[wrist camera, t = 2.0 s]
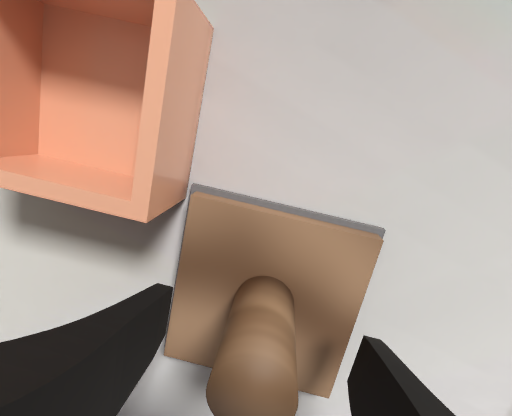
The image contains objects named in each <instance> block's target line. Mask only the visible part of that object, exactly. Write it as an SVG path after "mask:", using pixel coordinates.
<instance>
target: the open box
mask: <svg viewBox="0 0 512 416" xmlns="http://www.w3.org/2000/svg"><path fill="white" fill-rule="evenodd" d="M213 30H214V28H213V27H212V25H211V24H210V22H209V21H208V19H207V18H206V16H205V15H204V14H203V12H202V11H201V9H200V8H199V6H198V5H197V4H196V2H195V1H194V0H0V188H4V189H9V190H13V191H17V192H21V193H25V194H29V195H33V196H37V197H41V198H45V199H50V200H54V201H58V202H62V203H66V204H70V205H74V206H78V207H82V208H86V209H91V210H95V211H99V212H103V213H107V214H111V215H115V216H119V217H123V218H127V219H132V220H136V221H140V222H144V223H148V222H149V221H151V220H152V219H154V218H155V217H157V216H158V215H160V214H162V213H163V212H165V211H166V210H168V209H169V208H171V207H173V206H174V205H176V204H177V203H179V202H180V201H182V200H183V199H185V198H186V193H187V187H188V181H189V175H190V169H191V163H192V157H193V151H194V145H195V139H196V133H197V127H198V121H199V115H200V109H201V102H202V96H203V90H204V84H205V78H206V72H207V66H208V60H209V54H210V48H211V42H212V36H213Z"/></svg>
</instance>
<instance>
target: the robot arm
mask: <svg viewBox="0 0 512 416" xmlns="http://www.w3.org/2000/svg"><path fill="white" fill-rule="evenodd" d="M172 291H173V287H170V286H167V285H163V284H159V283H157V284H155V285H153V286H151V287H149V288H147V289H145V290H143V291H141V292H139V293H137V294H135V295H133V296H131V297H129V298H127V299H125V300H123V301H121V302H119V303H117V304H115V305H113V306H110V307H108V308H106V309H104V310H101V311H99V312H97V313H94V314H92V315H90V316H87V317H85V318H82V319H80V320H77V321H74V322H72V323H69V324H66V325H63V326H60V327H57V328H54V329H51V330H47V331H43V332H40V333H36V334H32V335H29V336H25V337H21V338H18V339H14V340H10V341H5V342H1V343H0V416H116V415H117V414H118V412H119V411H120V409H121V407H122V406H123V404H124V403H125V401H126V400H127V398H128V397H129V395H130V394H131V392H132V391H133V389H134V388H135V386H136V384H137V383H138V381H139V380H140V378H141V377H142V375H143V374H144V372H145V371H146V369H147V367H148V366H149V364H150V363H151V361H152V360H153V358H154V356H155V354H156V352H157V350H158V348H159V346H160V344H161V342H162V340H163V338H164V336H165V333H166V327H167V321H168V315H169V309H170V303H171V297H172ZM347 383H348V393H349V402H350V410H351V415H352V416H455V415H454V414H453V413H452V412H451V411H450V410H449V409H448V408H447V407H446V406H445V405H444V404H443V403H442V402H441V401H440V400H439V399H438V398H437V397H436V396H435V395H434V394H433V393H432V392H431V391H430V390H429V389H428V388H427V387H426V386H425V385H424V384H423V383H422V382H421V381H420V380H419V379H418V378H417V377H416V376H415V375H414V374H413V373H412V372H411V371H410V370H409V368H408V367H407V366H406V365H405V364H404V363H403V362H402V361H401V360H400V359H399V358H398V357H397V356H396V355H395V354H394V353H393V351H392V350H391V349H390V348H389V347H388V346H387V345H386V344H385V343H384V342H382V341H381V340H380V339H376V338H372V337H368V336H363V339H362V342H361V344H360V347H359V350H358V353H357V355H356V358H355V361H354V364H353V366H352V369H351V372H350V375H349V378H348V380H347Z"/></svg>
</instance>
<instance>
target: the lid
mask: <svg viewBox="0 0 512 416" xmlns="http://www.w3.org/2000/svg"><path fill="white" fill-rule="evenodd" d="M382 244H383V239H382V238H381V237H380V236H379V235H378V234H374V233H370V232H366V231H362V230H358V229H353V228H349V227H345V226H341V225H337V224H332V223H328V222H324V221H320V220H316V219H311V218H307V217H303V216H299V215H295V214H290V213H286V212H282V211H278V210H274V209H269V208H265V207H261V206H257V205H252V204H248V203H244V202H240V201H236V200H231V199H227V198H223V197H219V196H215V195H210V194H206V193H202V192H198V191H196V192H194V193H193V194H191V197H190V203H189V209H188V215H187V220H186V226H185V232H184V238H183V244H182V250H181V256H180V262H179V268H178V274H177V280H176V286H175V292H174V297H173V303H172V309H171V315H170V321H169V327H168V333H167V339H166V345H165V351H164V356H168V357H172V358H176V359H180V360H184V361H187V362H191V363H195V364H199V365H203V366H207V367H210V368H212V371H211V374H210V377H209V380H208V384H207V388H206V398H207V403H208V406H209V408H210V410H211V411H212V413H213V414H214V416H294V415H295V413H296V411H297V407H298V391H302V392H306V393H310V394H314V395H317V396H321V397H325V398H329V397H330V394H331V391H332V388H333V385H334V382H335V379H336V376H337V374H338V371H339V368H340V365H341V362H342V359H343V356H344V353H345V350H346V348H347V345H348V342H349V339H350V336H351V333H352V330H353V327H354V325H355V322H356V319H357V316H358V313H359V310H360V307H361V304H362V301H363V299H364V296H365V293H366V290H367V287H368V284H369V281H370V278H371V276H372V273H373V270H374V267H375V264H376V261H377V258H378V255H379V253H380V250H381V247H382Z"/></svg>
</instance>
